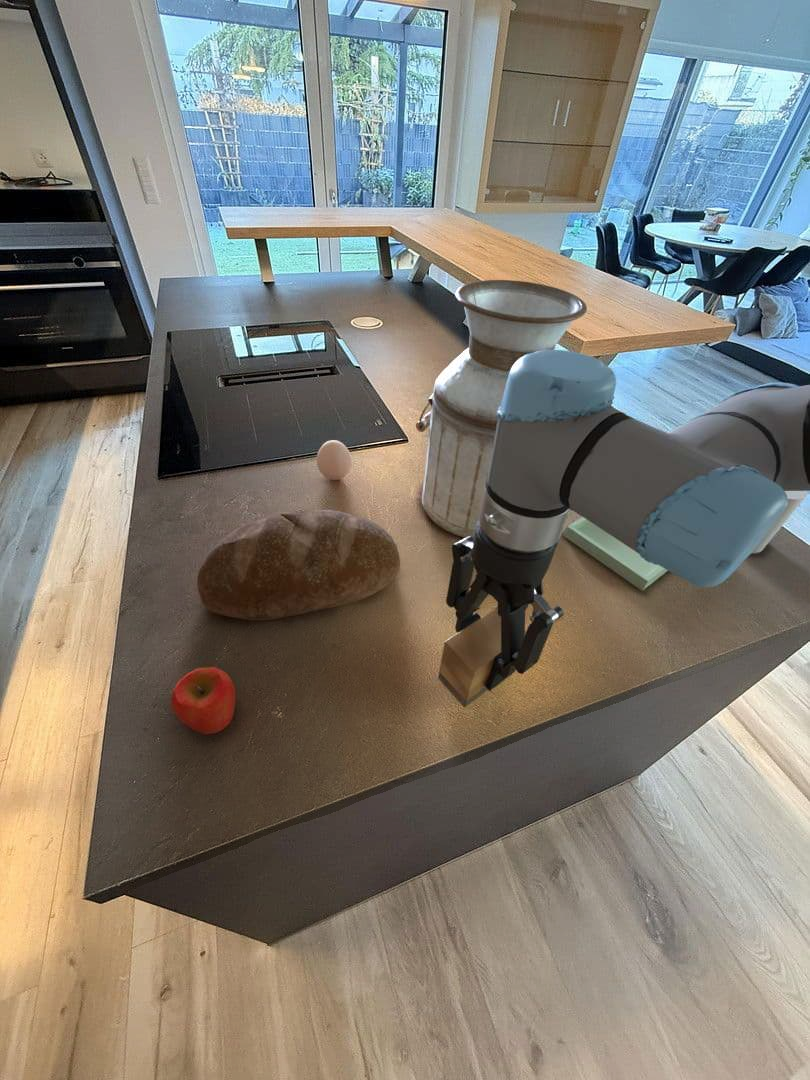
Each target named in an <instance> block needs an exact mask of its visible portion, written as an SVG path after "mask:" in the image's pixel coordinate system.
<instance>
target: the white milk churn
mask: <svg viewBox="0 0 810 1080" xmlns="http://www.w3.org/2000/svg"><path fill="white" fill-rule="evenodd" d="M455 299H456V301H457V302H458V303H459V304H460V305H461V306H463V308H464V313H465V317H466V322H467V326H468V331H469V340H468V347H467V348H466V349H465V350H464V351H462V353H461V354H459V355H458V356H457V357H456V358H455V359H454V360H453V361H452V362H451V363H450V364H449V365H448V366H447V367H446V368H445V369H444V370H443V371H442V372H441V373H440V374H439V375H438V377H437V378H436V379H435V382H434V385H433V392H432V394H431V395H430V397H429V398H428V400H427V401H428V403H427V404H426V405H425V407H424V408H423V410H422V412H421V414H420V416H419V420H418V421H416V424H415V429H416V430H417V432H419V433H424V432H425V431H426V430H427V429H428V438H427V448H426V457H425V458H426V459H425V467H424V477H423V485H422V493H421V503H422V507H423V510H424V511H425V513H426V515H427V516H428V517H429V519H430V520H431V521H432V522H433V523H435V525H436V526H438V527H440V528H441V529H443V530H444V531H446V532H448V533H450V534H452V535H455V536H457V537H460V538H462V539H464V538H466V537H468V536H472V537H473V538H474V536H475V532H476V527H477V523H478V521H479V513H480V508H481V503H482V499H483V494H484V489H485V484H486V479H487V474H488V472H489V469H490V462H491V456H492V450H493V443H494V437H495V431H496V424H497V418H498V416H497V412H498V409H499V407H501V403H502V399H503V395H504V392H505V388H506V384H507V380H508V376H509V373H510V370H511V368H512V366H513V365H514V364H515V362H516V361H517V360H519V359H520V358H521V357H523V356H525V355H527V354H531V353H534V352H537V351H542V350H556V347H557V344H558V342H559V341H560V340H561V339H562V337H563V336H564V334H565V333H566V331H567V330H568V328H570V325H571V324H572V323H573V321H575V320H579V319H580V318H582V317H583V316H584V315H585V314H586V313H587V310H588V305H587V303H586V302H585V301H584V300H583V299H582V298H580V297H579V296H577V295H575V294H574V293H571V292H569V291H567V290H564V289H561V288H558V287H554V286H551V285H546V284H542V283H536V282H530V281H523V280H512V279H488V280H487V279H485V280H478V281H473V282H468V283H466V284H463V285H461V286H460V287H458V288H457V290H456V291H455ZM429 406H430V407H431V408H430V409H431V410H430V411H429V412H427V413H426V414H425V412H426V410H427V409H428V407H429ZM424 414H425V415H424Z"/></svg>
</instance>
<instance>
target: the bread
mask: <svg viewBox="0 0 810 1080" xmlns="http://www.w3.org/2000/svg"><path fill="white" fill-rule="evenodd" d="M400 567H401V558H400V553H399V549H398V545H397V543H396V541H395V540H394V538H393V536H392V534H390V532H388V531H387V530H386V529H385V528H383V527H382V526H381V525H380V524H378V523H376V522H374V521H372V520H370V519H367V518H365V517H361V516H357V515H355V514H353V513H349V512H344V511H339V510H333V509H315V510H294V511H283V512H282V511H281V512H278V513H274V514H271V515H269V516H266V517H264V518H260V519H256V520H254V521H251V522H249V523H246V524H244V525H242V526H240V527H238V528H236V529H234V530H233V531H231V532H229V534H227V535H226V536H225V537H224V538H222V540H220V541H219V542H218V543H217V544H216V545H215V546H214V547H213V548H212V549H211V550H210V551H209V552H208V554H207V555H206V556H205V558H204V559H203V561H202V562H201V565H200V568H199V570H198V575H197V583H196V586H197V587H196V588H197V591H198V595H199V597H200V601H201V603H202V605H203V606H204V607H205V609H207V610H208V611H210V612H211V613H213V614H217V615H219V616H225V617H230V618H235V619H239V620H245V621H252V622H253V621H254V622H259V621H261V622H262V621H272V620H277V619H282V618H288V617H292V616H293V617H294V616H299V615H305V614H307V613H312V612H315V611H320V610H321V611H322V610H326V609H331V608H335V607H336V608H337V607H340V606H345V605H350V604H353V603H356V602H358V601H361V600H365V599H367V598H368V597H370V596H372V595H374V594H376V593H377V592H379V591H381V590H383V589H384V588H386V586H388V585H389V584H390V583H391V582H392V581H393V580H394V579H395V578H396V577H397V576H398V574H399V572H400Z"/></svg>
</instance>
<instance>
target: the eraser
mask: <svg viewBox="0 0 810 1080" xmlns="http://www.w3.org/2000/svg"><path fill="white" fill-rule="evenodd" d="M526 631H527V629H525V634H526ZM499 653H501V616H499V615H498V606H497V607H495V608H494V609H492V610H491V611H489V612H487V613H486V614H485V615H482V616H481V618H480V619H479V620H477V621H475V622H474V623H472V624H471V625H469V626H468V627H466V628H465V629H463V630H462V631H460V632H459V633H457V632H456V634H454V635H452V636H451V637H449V638H448V639H446V640H445V641H444V642H443V648H442V654H441V660H440V665H439V671H438V678H437V679H438V680H439V681H440V682H441V683H442V684H443V686H444V687H446V688H447V690H448V691H449V693H451V694H452V695H453V696H454V697H455V698H456V700H457V701H458V702H459V703H460V704H461V706H463V708H466V707H468V706H469V705H471V703H473V702H474V701H475V700H478V699H479V697H481V696H482V695H483V694H485V693H486V692H487V691H489V690H488V689H487V688H486V687H485V686H486V683H487V680H488V677H489V674H490V670H491V667H492V664H493V661H494V657H495V656H496V655H498V654H499Z"/></svg>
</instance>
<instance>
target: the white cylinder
mask: <svg viewBox="0 0 810 1080" xmlns="http://www.w3.org/2000/svg"><path fill="white" fill-rule="evenodd" d="M785 493H786V494H787V498H788V504H787V507H786V508H785V510H784V512H783V513H782V515H781V516H780V518H779V519H778V520H777V522H776V523H775V524H774V526H773V527H772V528H771V529H770V531H769V532H768V533H767V535H766V536H765V537H764V538H763V540H762V541H761V542H760V543H759V544H758V546H757V547H756V548H755V549H754V550H753V551H752V553H751V554H758V553H760V552H762V551H763V550H764V549H765V548H766V546H767V545H768V544H769V543H770V542H771V541H772V539H773V538H774V537H775V535H777V533H778V531H780V529H781V528H782V527H783V526H784V525H785V523H786V522H787V521H788V520H789V518H790V517H791V516H792V514H793V513H795V511H796V510H797V509H798V507H800V505H801V503H802V502H803V501H804V500H805V499H806V497H807V496H808V491H785Z"/></svg>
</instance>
